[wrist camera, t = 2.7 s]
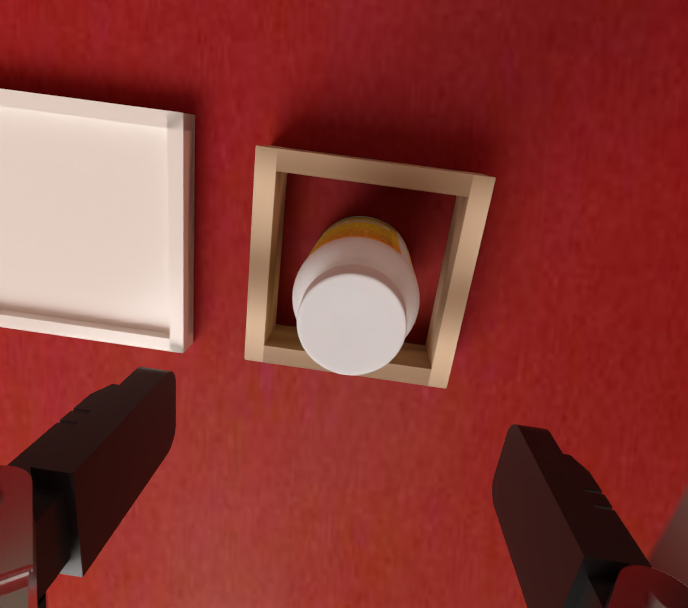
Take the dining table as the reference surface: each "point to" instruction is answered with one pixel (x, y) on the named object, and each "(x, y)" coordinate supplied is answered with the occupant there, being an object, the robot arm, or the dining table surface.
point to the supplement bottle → (356, 296)
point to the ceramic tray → (97, 220)
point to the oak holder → (470, 188)
